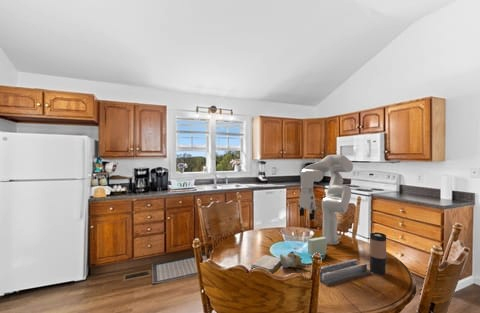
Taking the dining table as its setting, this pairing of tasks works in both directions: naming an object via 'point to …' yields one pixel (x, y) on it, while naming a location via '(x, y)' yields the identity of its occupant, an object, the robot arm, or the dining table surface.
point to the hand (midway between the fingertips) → (306, 217)
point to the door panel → (317, 245)
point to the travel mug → (378, 253)
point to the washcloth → (267, 263)
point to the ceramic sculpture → (292, 260)
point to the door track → (342, 272)
